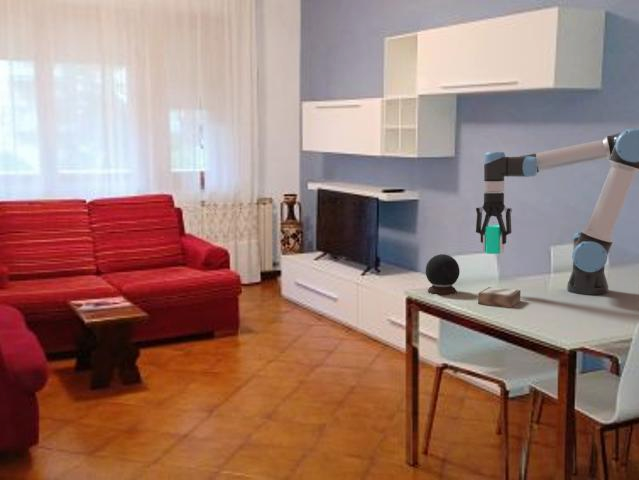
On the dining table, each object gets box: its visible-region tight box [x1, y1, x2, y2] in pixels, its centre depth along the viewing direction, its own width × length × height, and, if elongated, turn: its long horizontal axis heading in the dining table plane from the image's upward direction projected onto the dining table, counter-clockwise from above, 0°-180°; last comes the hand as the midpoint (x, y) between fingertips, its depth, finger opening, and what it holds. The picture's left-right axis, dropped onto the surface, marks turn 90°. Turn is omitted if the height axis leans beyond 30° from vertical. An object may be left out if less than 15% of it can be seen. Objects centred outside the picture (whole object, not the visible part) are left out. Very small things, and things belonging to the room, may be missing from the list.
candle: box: [485, 221, 502, 255], centre depth 278 cm, size 6×6×12 cm
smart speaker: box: [425, 253, 461, 296], centre depth 281 cm, size 13×13×15 cm
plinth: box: [477, 287, 521, 309], centre depth 263 cm, size 12×12×4 cm
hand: (493, 251), depth 279 cm, fingers closed on candle, 6 cm apart
